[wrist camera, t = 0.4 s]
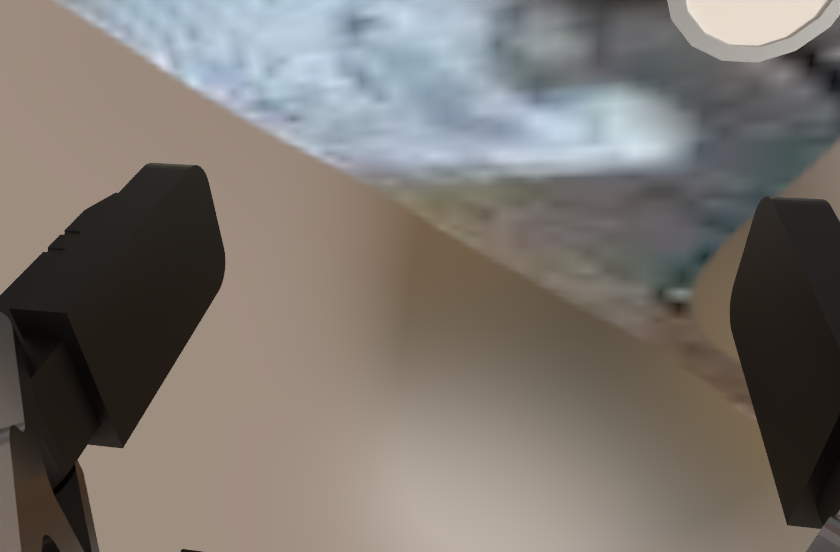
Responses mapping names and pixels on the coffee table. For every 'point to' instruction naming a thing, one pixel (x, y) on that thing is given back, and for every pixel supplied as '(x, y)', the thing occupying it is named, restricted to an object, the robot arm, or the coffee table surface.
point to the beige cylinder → (751, 25)
